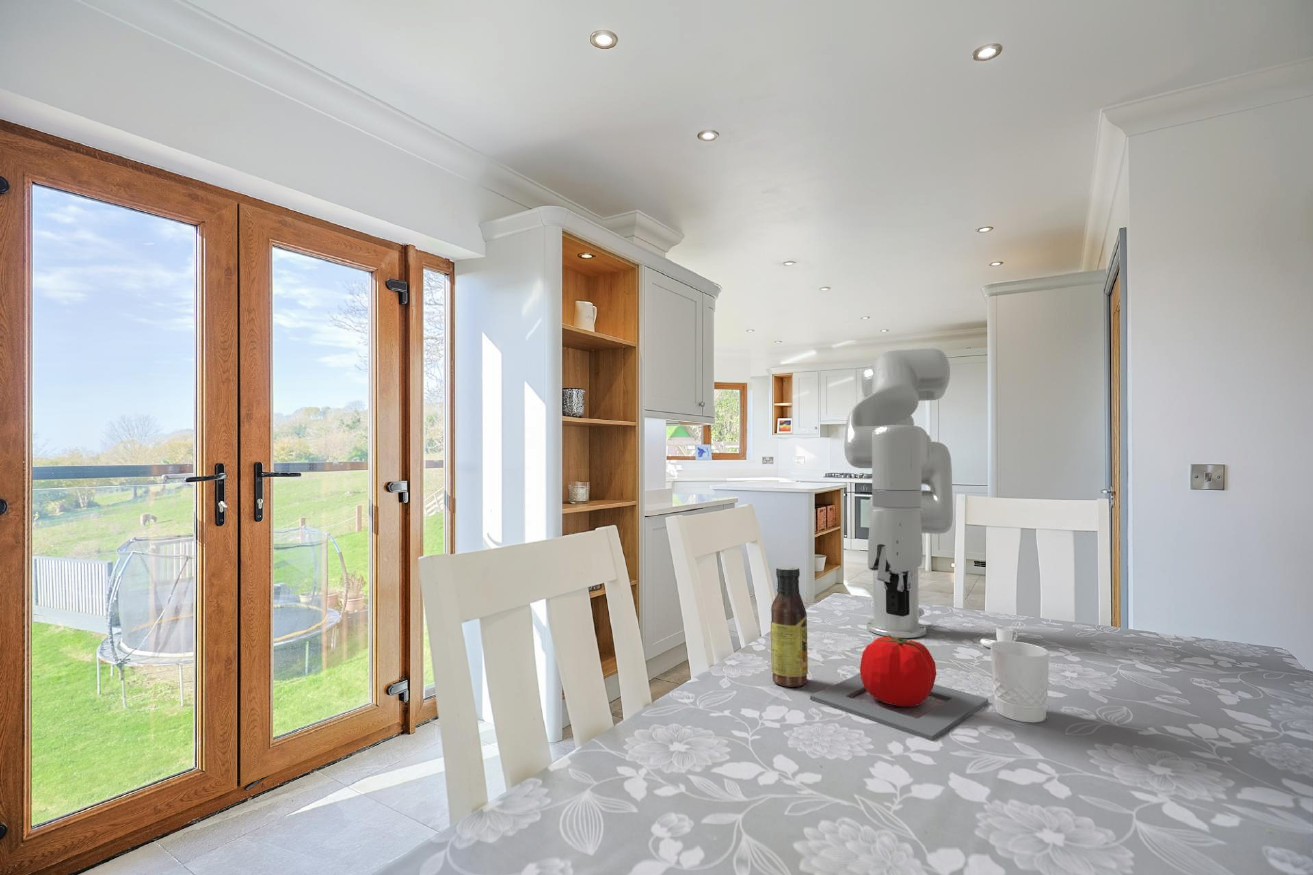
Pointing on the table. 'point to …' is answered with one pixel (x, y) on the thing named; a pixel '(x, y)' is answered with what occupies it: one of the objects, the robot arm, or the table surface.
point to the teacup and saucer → (1001, 636)
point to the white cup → (1020, 680)
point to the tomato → (897, 671)
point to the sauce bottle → (789, 631)
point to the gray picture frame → (925, 726)
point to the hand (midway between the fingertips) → (897, 614)
